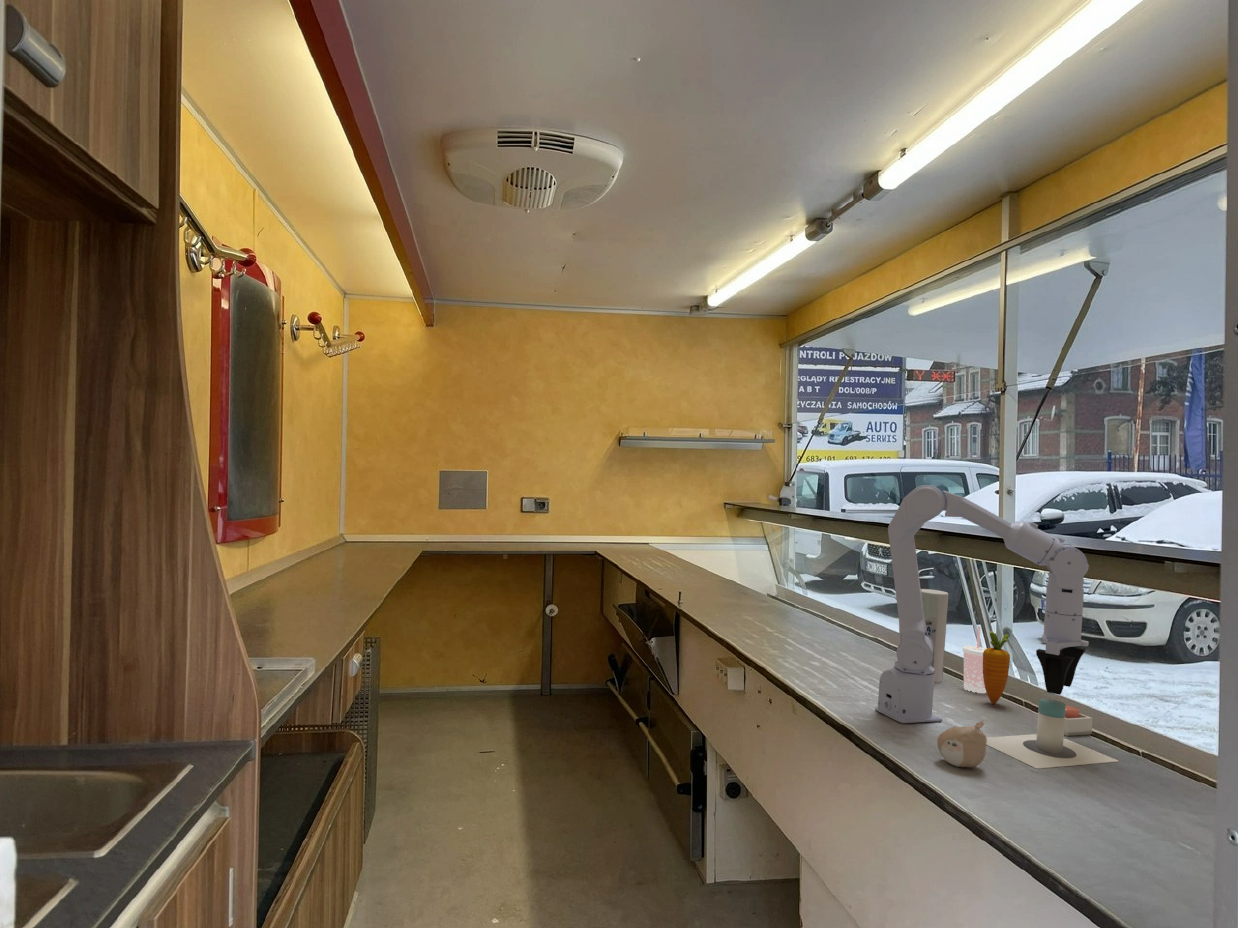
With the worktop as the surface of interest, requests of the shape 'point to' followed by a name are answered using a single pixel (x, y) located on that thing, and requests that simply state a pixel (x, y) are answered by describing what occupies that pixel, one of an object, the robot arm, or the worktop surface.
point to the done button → (1071, 712)
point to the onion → (963, 745)
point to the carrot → (995, 668)
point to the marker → (1050, 725)
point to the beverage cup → (974, 667)
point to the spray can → (936, 626)
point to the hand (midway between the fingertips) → (1058, 689)
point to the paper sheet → (1031, 755)
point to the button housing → (1078, 725)
